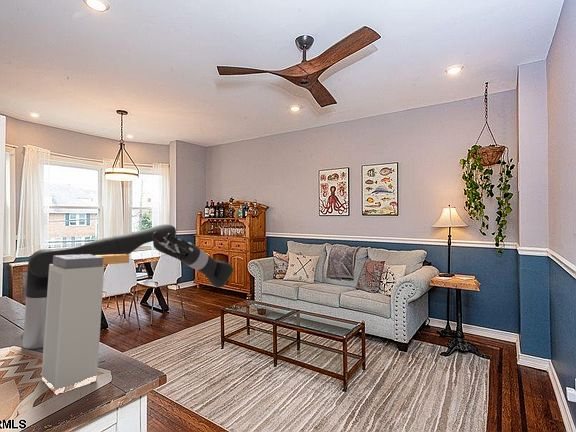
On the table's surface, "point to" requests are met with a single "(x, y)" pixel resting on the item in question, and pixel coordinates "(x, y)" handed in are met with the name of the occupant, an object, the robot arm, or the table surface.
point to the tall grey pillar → (72, 325)
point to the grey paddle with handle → (88, 260)
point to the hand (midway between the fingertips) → (160, 235)
